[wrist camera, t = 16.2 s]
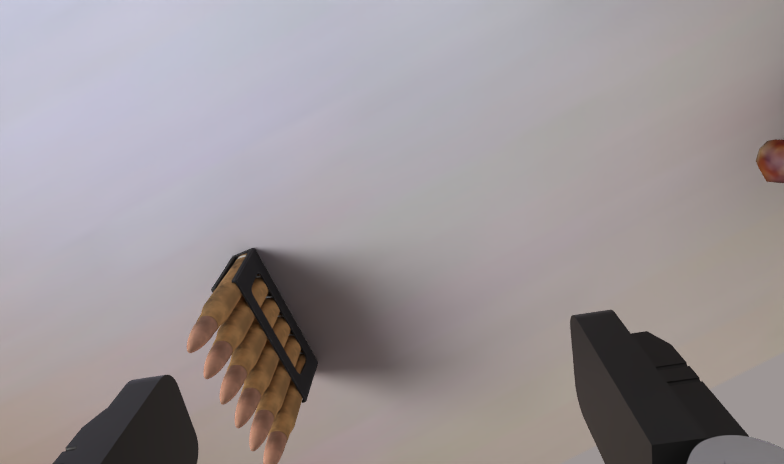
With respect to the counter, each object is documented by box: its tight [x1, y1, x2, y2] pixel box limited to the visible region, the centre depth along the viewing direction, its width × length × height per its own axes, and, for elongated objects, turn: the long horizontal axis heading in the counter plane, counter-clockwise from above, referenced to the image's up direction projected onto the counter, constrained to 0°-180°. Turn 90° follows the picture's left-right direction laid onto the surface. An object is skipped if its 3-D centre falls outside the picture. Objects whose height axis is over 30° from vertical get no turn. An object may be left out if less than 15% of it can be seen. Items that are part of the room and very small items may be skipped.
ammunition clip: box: [187, 248, 318, 464], centre depth 36 cm, size 11×2×12 cm, turn 24°
